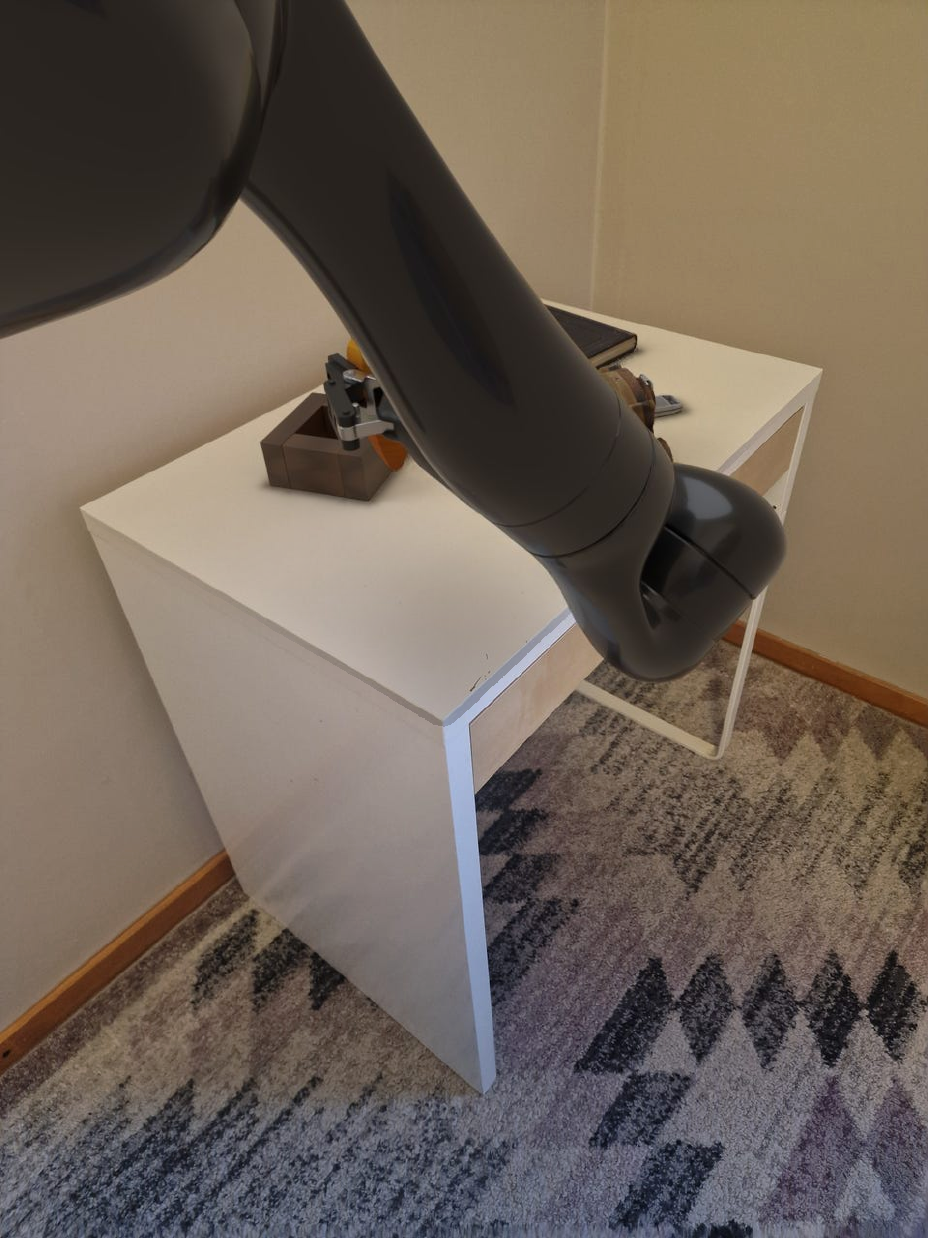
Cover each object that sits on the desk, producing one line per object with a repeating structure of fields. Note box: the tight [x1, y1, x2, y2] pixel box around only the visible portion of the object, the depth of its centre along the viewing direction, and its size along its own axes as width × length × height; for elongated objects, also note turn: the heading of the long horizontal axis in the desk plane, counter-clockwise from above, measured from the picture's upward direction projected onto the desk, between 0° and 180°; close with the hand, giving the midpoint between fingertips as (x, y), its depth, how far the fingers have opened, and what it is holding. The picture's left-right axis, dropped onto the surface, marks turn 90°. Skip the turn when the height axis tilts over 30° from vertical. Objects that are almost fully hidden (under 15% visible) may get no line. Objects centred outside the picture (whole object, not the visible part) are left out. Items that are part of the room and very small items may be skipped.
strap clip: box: [638, 373, 683, 418], centre depth 94 cm, size 8×3×4 cm, turn 107°
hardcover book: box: [544, 303, 638, 370], centre depth 110 cm, size 16×23×2 cm
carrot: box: [346, 337, 409, 473], centre depth 63 cm, size 5×5×15 cm
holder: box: [259, 392, 393, 502], centre depth 88 cm, size 11×11×5 cm
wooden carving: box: [598, 363, 674, 462], centre depth 83 cm, size 16×5×10 cm, turn 16°
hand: (366, 357), depth 64 cm, fingers closed on carrot, 4 cm apart
